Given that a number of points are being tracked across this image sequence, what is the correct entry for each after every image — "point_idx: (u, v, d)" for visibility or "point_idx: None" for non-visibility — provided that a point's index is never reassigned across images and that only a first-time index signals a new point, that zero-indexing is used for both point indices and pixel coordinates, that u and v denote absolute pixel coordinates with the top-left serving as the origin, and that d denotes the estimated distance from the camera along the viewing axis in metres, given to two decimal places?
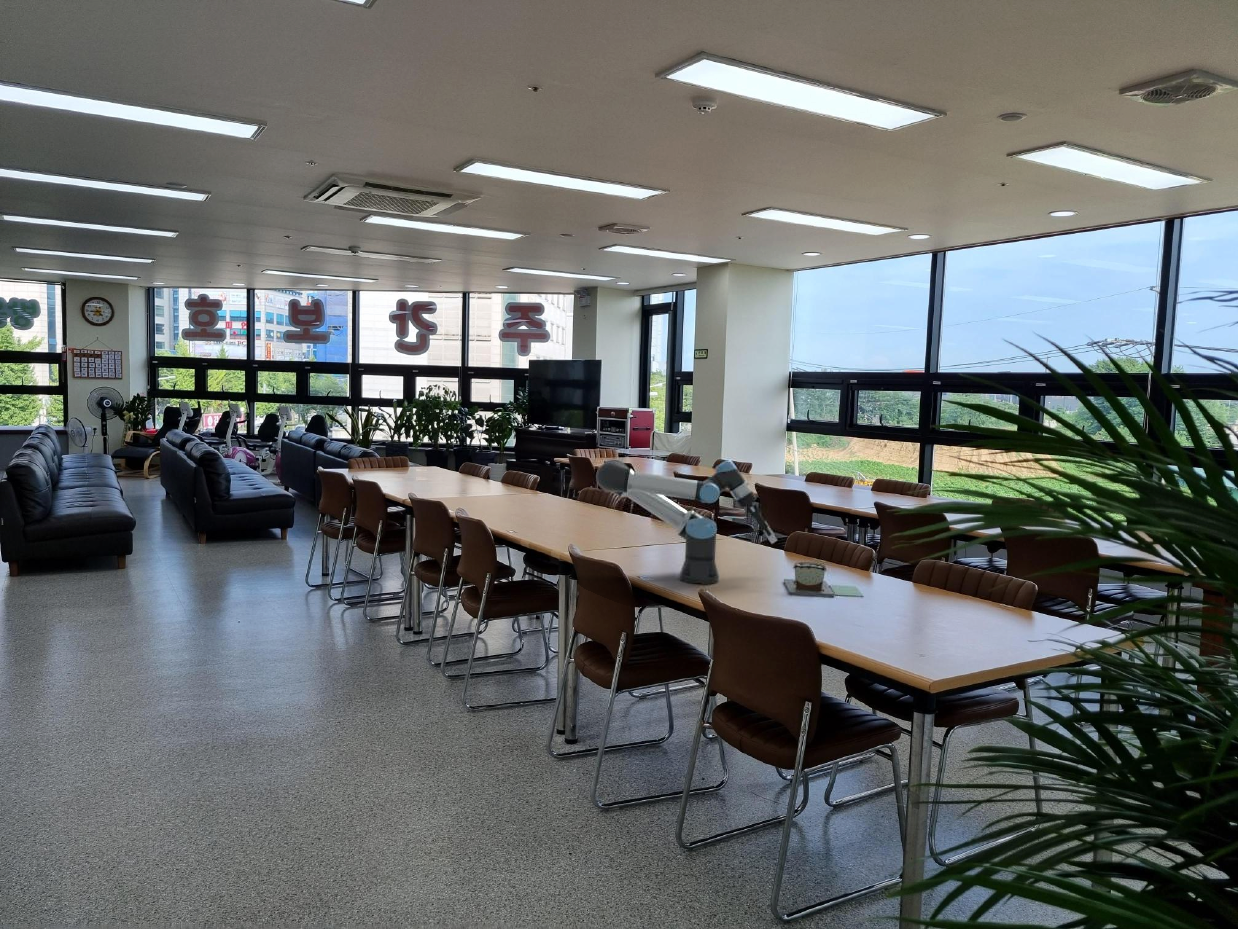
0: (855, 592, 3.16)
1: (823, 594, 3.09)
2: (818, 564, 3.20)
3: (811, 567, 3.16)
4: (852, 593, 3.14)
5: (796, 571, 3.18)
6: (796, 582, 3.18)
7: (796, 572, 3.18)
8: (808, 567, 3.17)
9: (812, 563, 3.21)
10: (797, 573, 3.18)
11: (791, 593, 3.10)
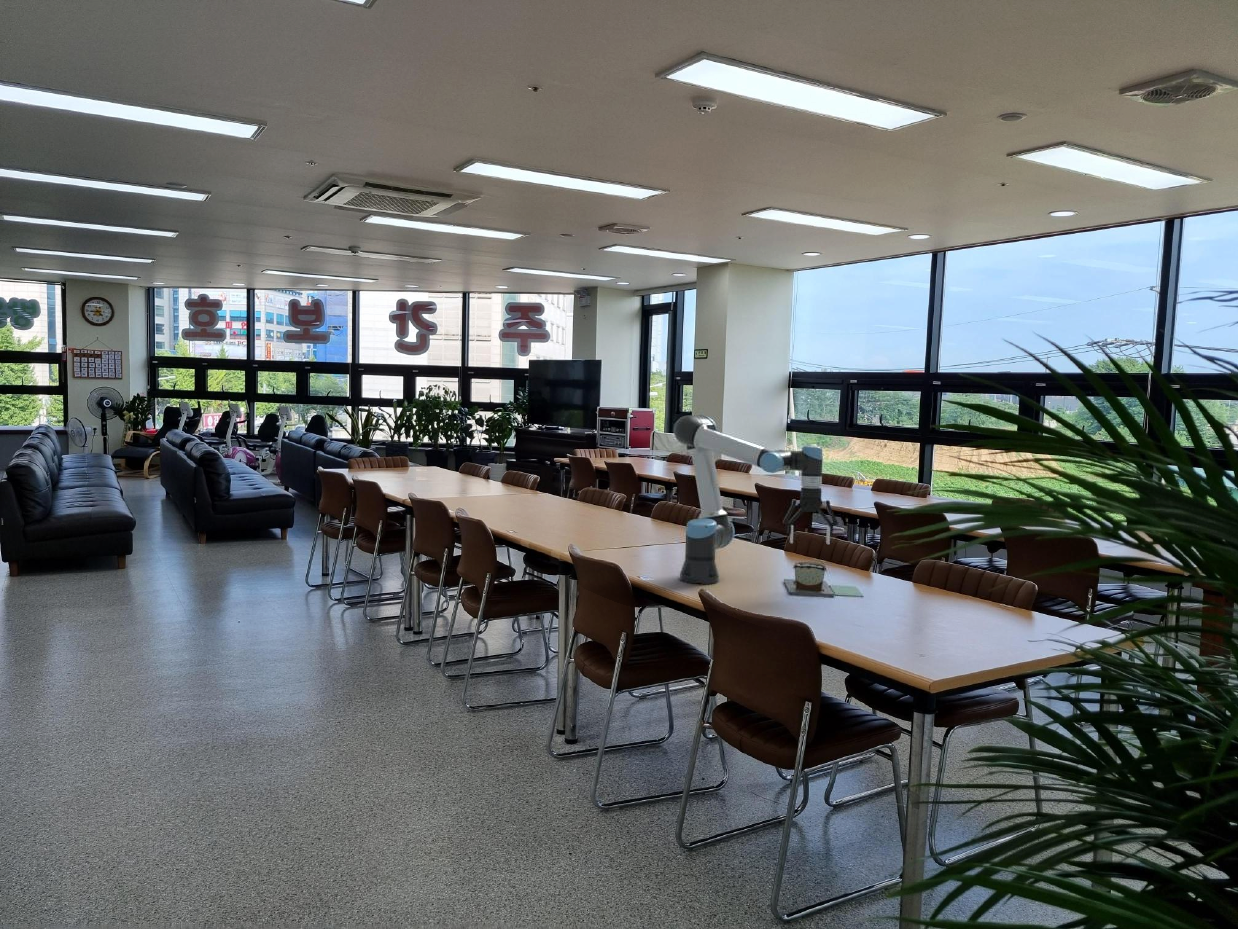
0: (855, 592, 3.16)
1: (823, 594, 3.09)
2: (818, 564, 3.20)
3: (811, 567, 3.16)
4: (852, 593, 3.14)
5: (796, 571, 3.18)
6: (796, 582, 3.18)
7: (796, 572, 3.18)
8: (808, 567, 3.17)
9: (812, 563, 3.21)
10: (797, 573, 3.18)
11: (791, 593, 3.10)
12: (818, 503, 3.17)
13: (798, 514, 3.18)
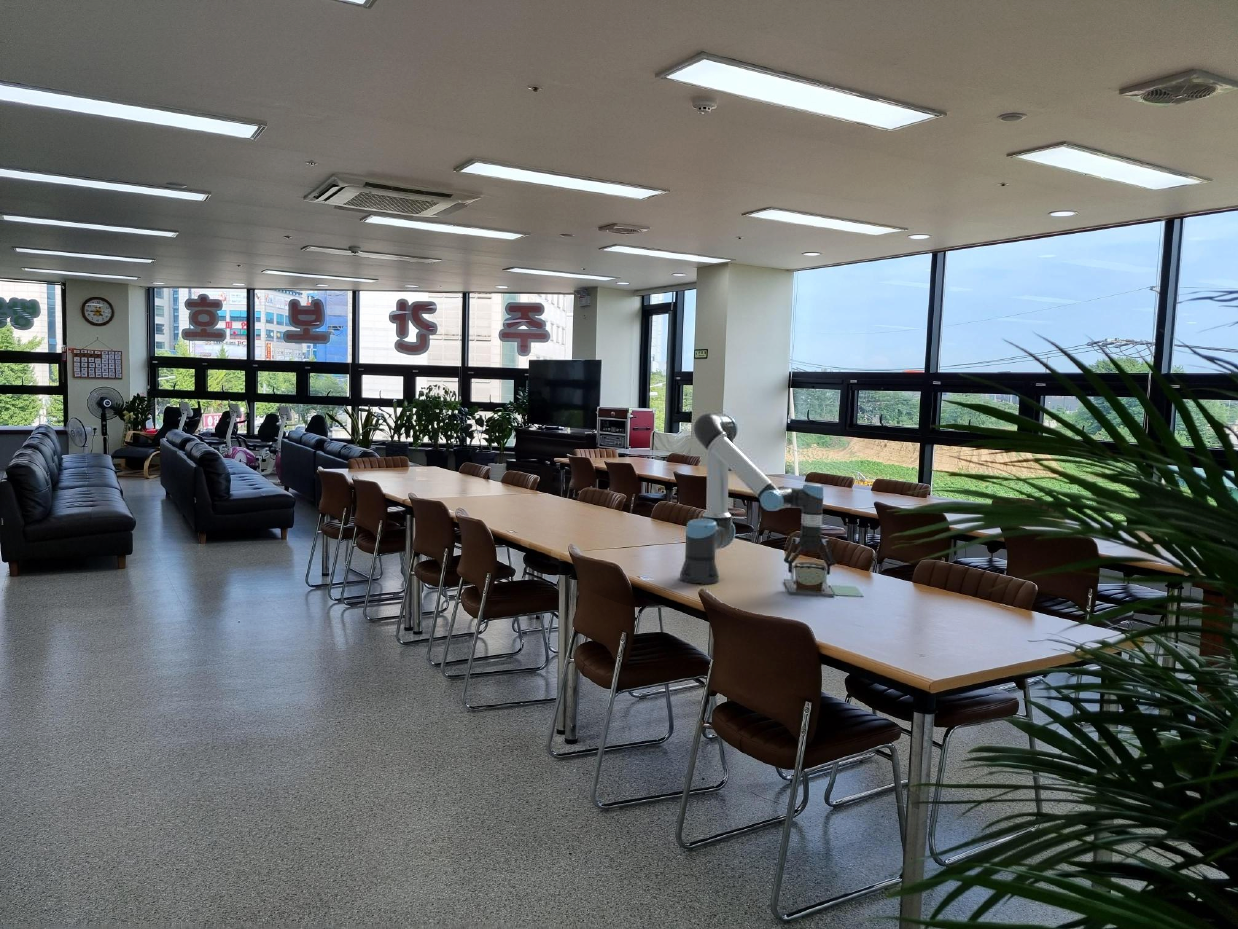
0: (855, 592, 3.16)
1: (823, 594, 3.09)
2: (818, 564, 3.20)
3: (811, 567, 3.16)
4: (852, 593, 3.14)
5: (796, 571, 3.18)
6: (796, 582, 3.18)
7: (796, 572, 3.18)
8: (808, 567, 3.17)
9: (812, 563, 3.21)
10: (798, 573, 3.18)
11: (791, 593, 3.10)
12: (818, 541, 3.17)
13: (798, 552, 3.18)
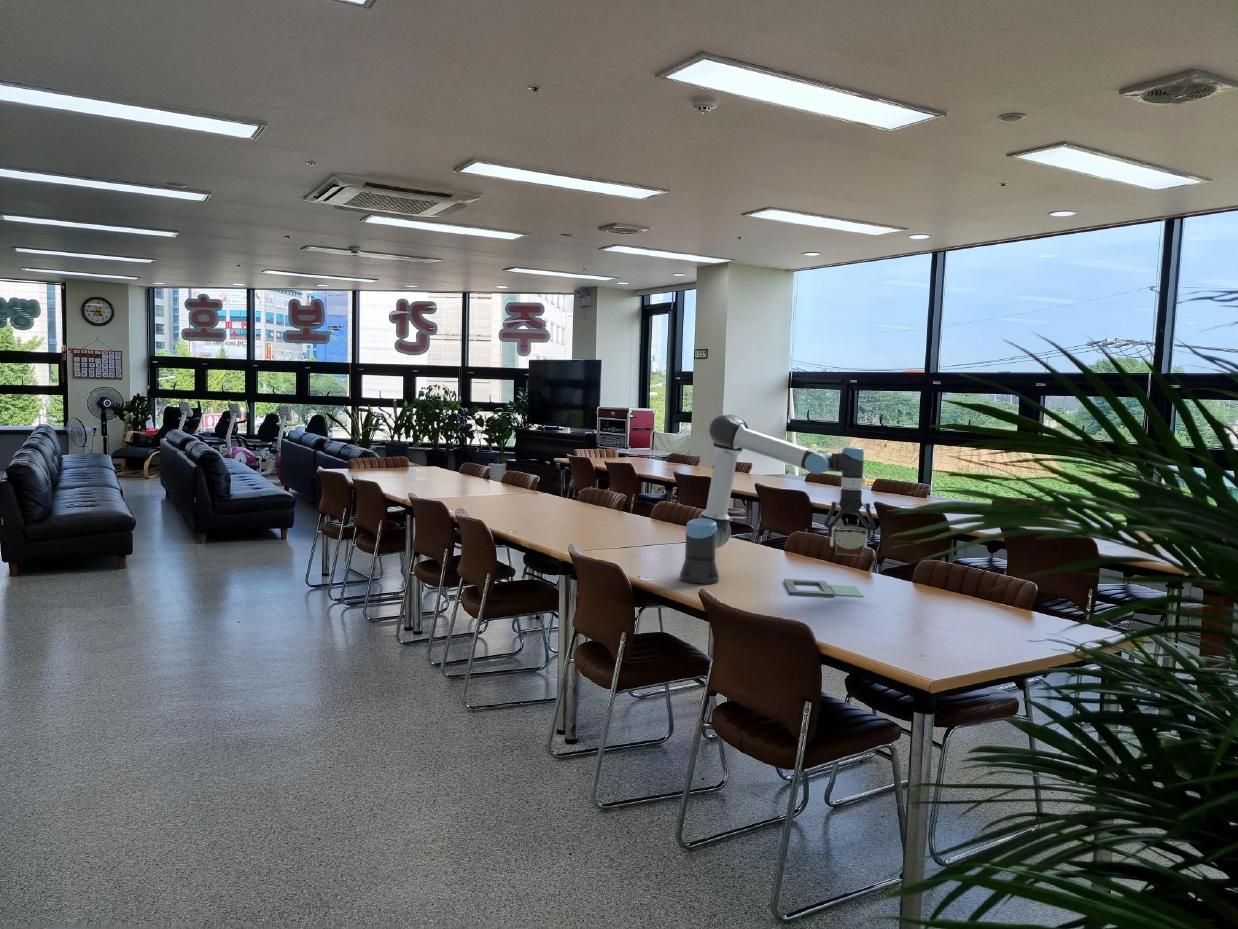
0: (855, 592, 3.16)
1: (823, 594, 3.09)
2: (858, 528, 3.17)
3: (852, 531, 3.14)
4: (852, 593, 3.14)
5: (836, 535, 3.15)
6: (836, 546, 3.16)
7: (836, 536, 3.15)
8: (848, 531, 3.14)
9: (852, 527, 3.19)
10: (838, 537, 3.15)
11: (791, 593, 3.10)
12: (858, 505, 3.15)
13: (838, 516, 3.16)
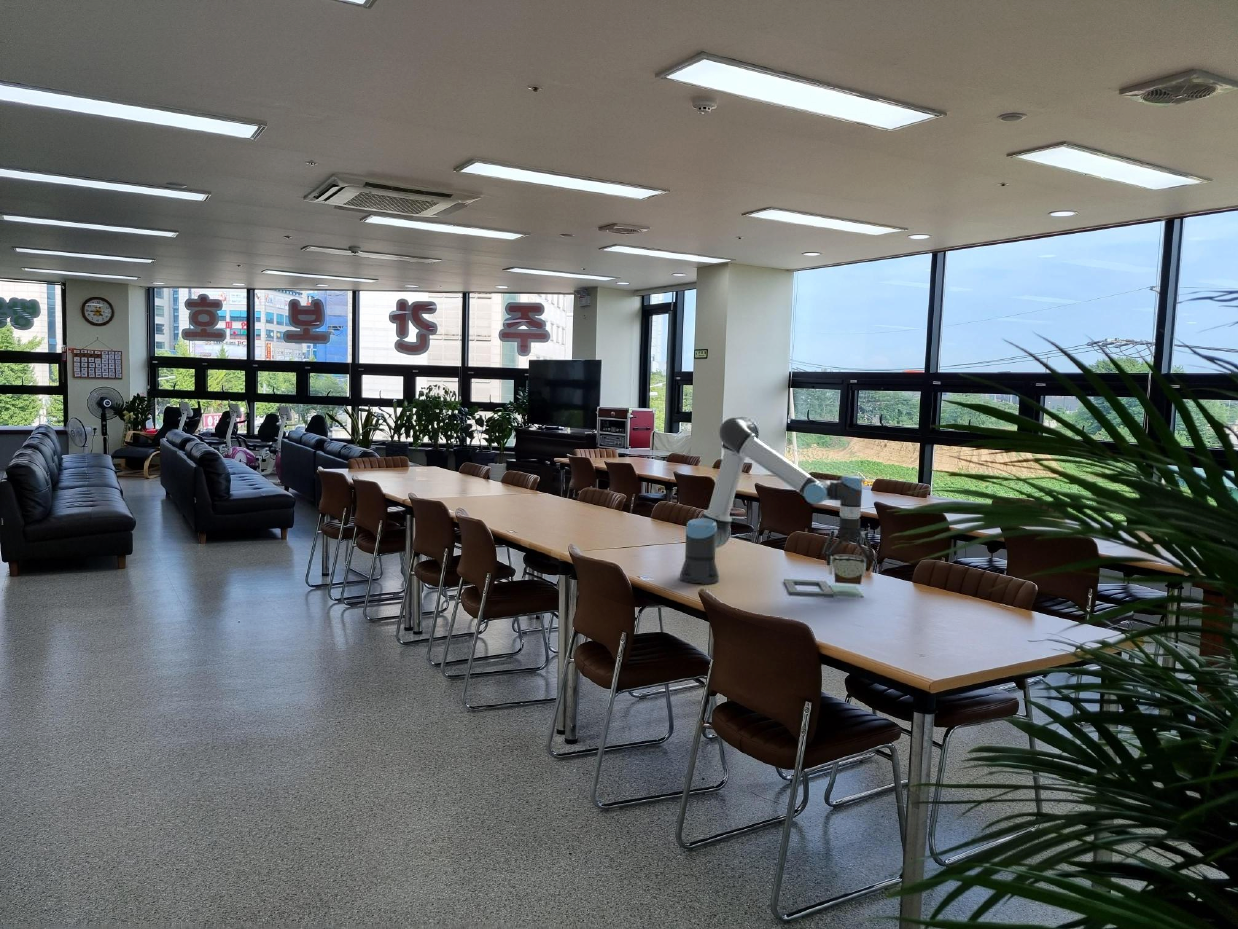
0: (855, 592, 3.16)
1: (823, 594, 3.09)
2: (857, 556, 3.18)
3: (850, 559, 3.15)
4: (852, 593, 3.14)
5: (835, 564, 3.16)
6: (835, 575, 3.16)
7: (835, 565, 3.16)
8: (847, 559, 3.15)
9: (850, 555, 3.20)
10: (836, 566, 3.16)
11: (791, 593, 3.10)
12: (856, 533, 3.16)
13: (837, 545, 3.17)
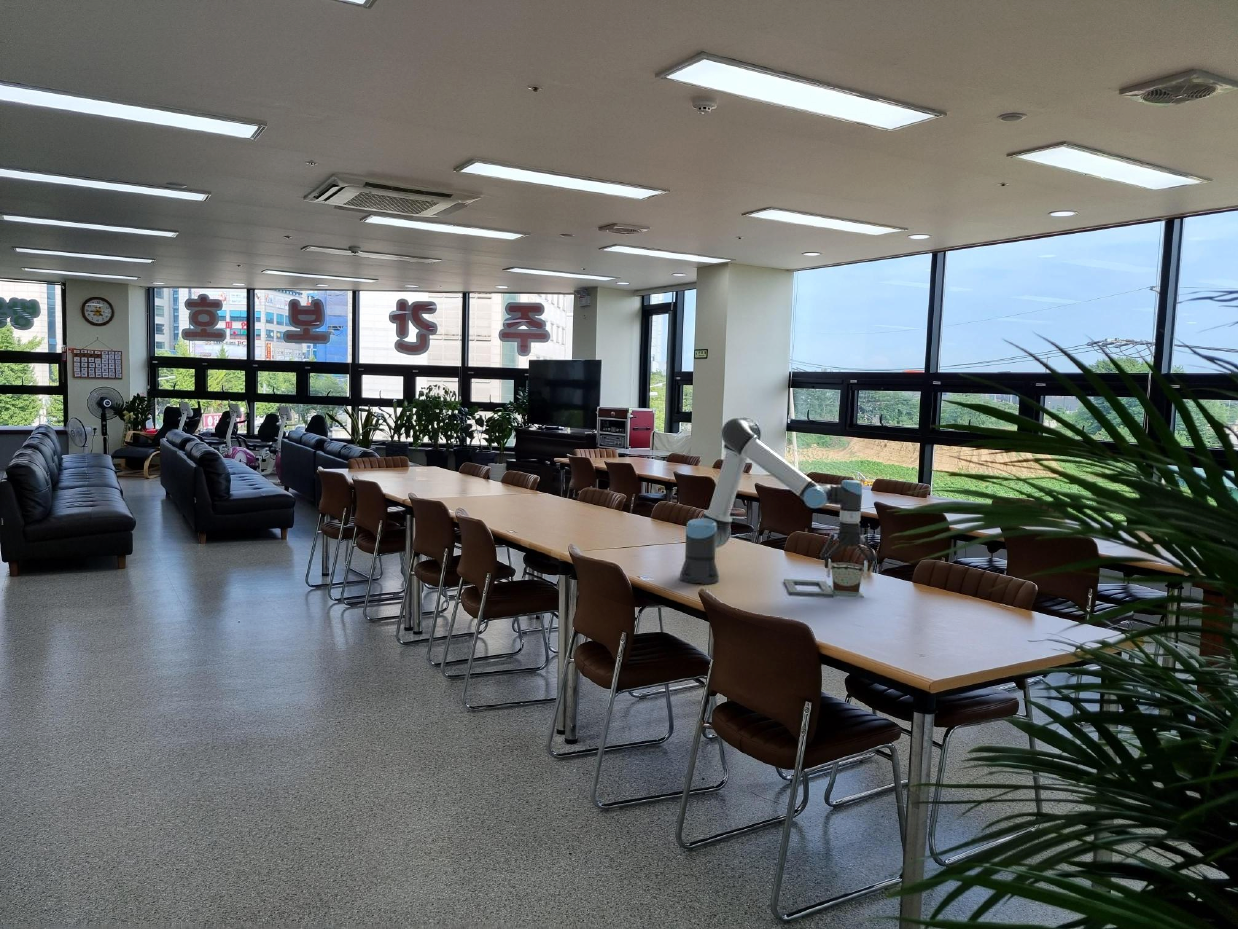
0: None
1: (823, 594, 3.09)
2: (855, 565, 3.19)
3: (849, 568, 3.15)
4: (852, 593, 3.14)
5: (833, 572, 3.16)
6: (833, 583, 3.17)
7: (833, 573, 3.16)
8: (845, 568, 3.15)
9: (849, 564, 3.20)
10: (835, 574, 3.16)
11: (791, 593, 3.10)
12: (856, 538, 3.16)
13: (836, 548, 3.17)
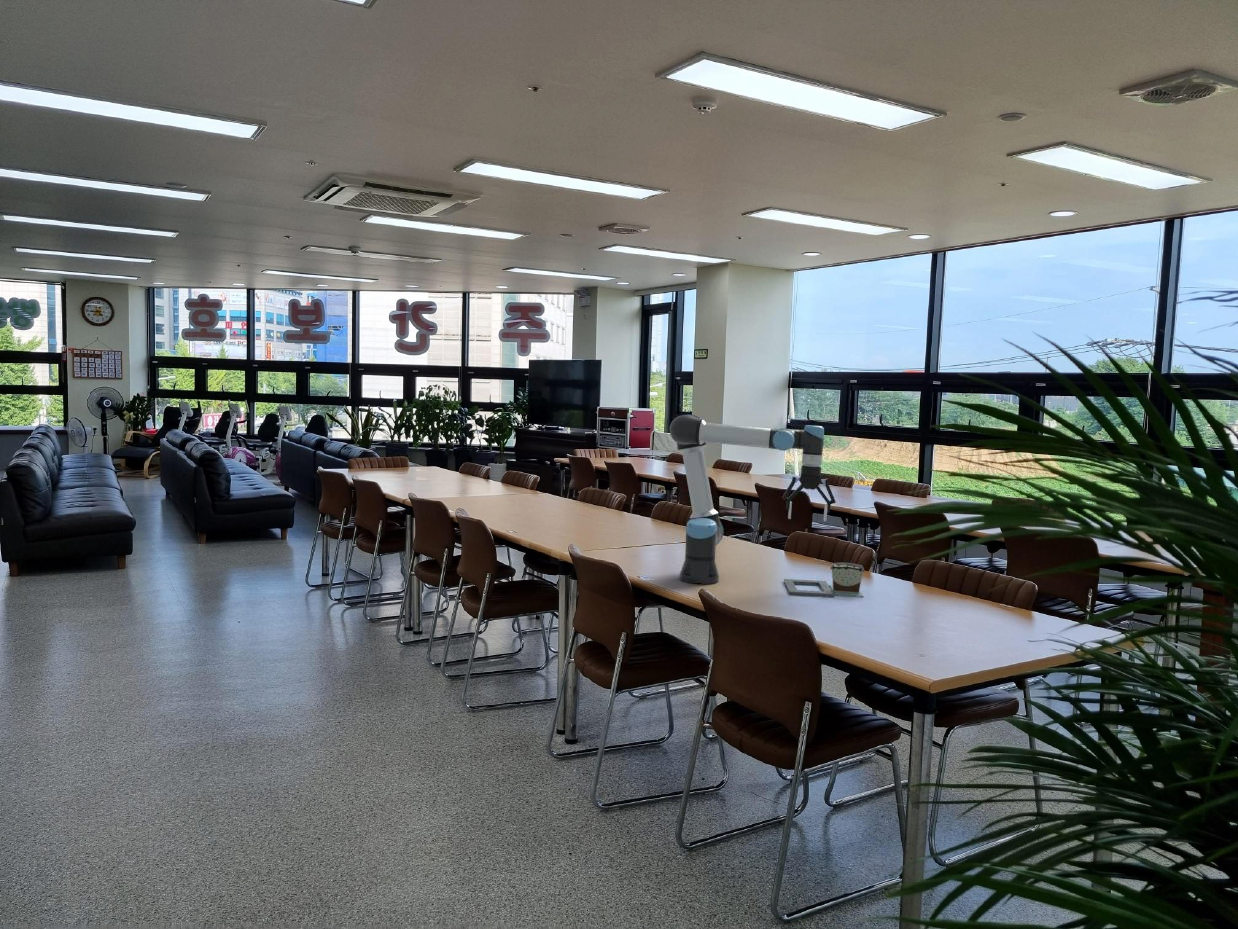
0: None
1: (823, 594, 3.09)
2: (855, 565, 3.19)
3: (849, 568, 3.15)
4: (852, 593, 3.14)
5: (833, 572, 3.16)
6: (833, 583, 3.17)
7: (833, 573, 3.16)
8: (846, 568, 3.15)
9: (849, 564, 3.20)
10: (835, 574, 3.16)
11: (791, 593, 3.10)
12: (817, 481, 3.27)
13: (797, 491, 3.28)
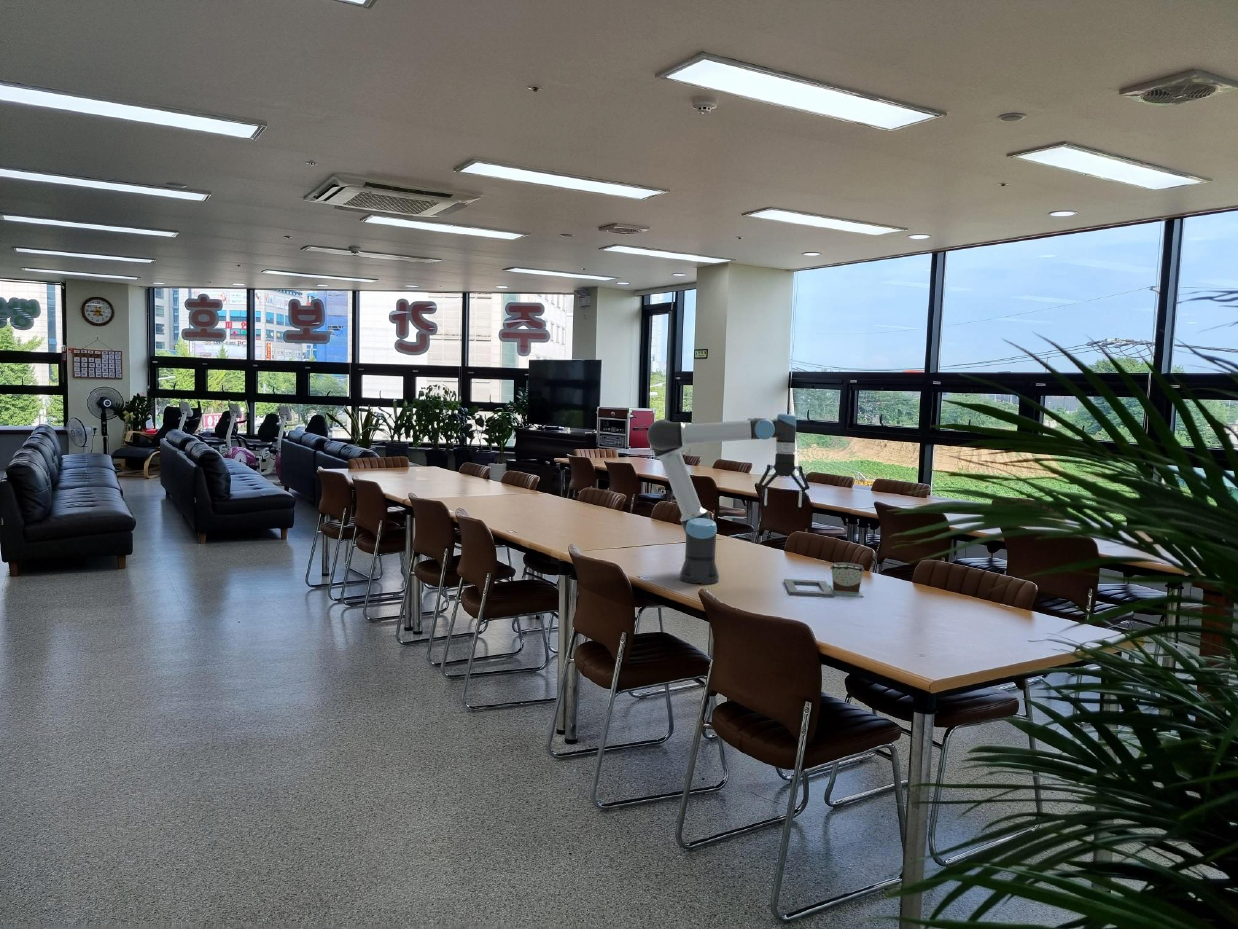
0: None
1: (823, 594, 3.09)
2: (855, 565, 3.19)
3: (849, 568, 3.15)
4: (852, 593, 3.14)
5: (833, 572, 3.16)
6: (833, 583, 3.17)
7: (833, 573, 3.16)
8: (846, 568, 3.15)
9: (849, 564, 3.20)
10: (835, 574, 3.16)
11: (791, 593, 3.10)
12: (791, 468, 3.36)
13: (772, 478, 3.37)
